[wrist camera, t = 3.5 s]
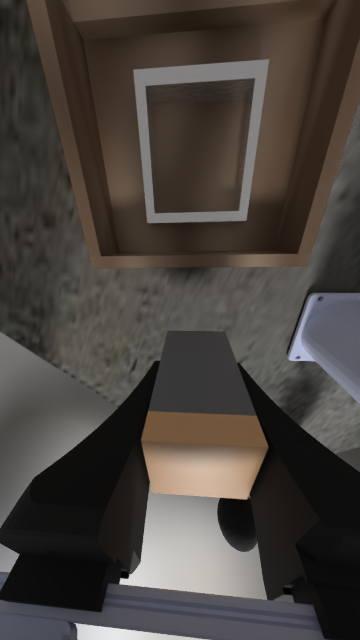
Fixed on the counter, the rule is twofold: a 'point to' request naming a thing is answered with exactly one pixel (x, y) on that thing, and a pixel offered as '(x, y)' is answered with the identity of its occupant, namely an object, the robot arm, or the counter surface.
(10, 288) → the counter surface
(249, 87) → the frame
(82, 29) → the walnut box
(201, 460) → the two-tone rectangular block
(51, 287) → the counter surface
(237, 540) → the light bulb
